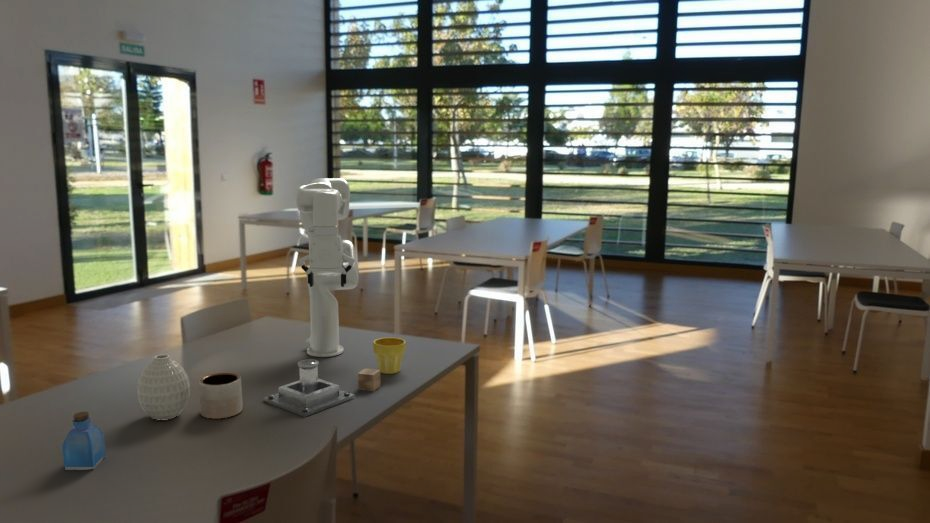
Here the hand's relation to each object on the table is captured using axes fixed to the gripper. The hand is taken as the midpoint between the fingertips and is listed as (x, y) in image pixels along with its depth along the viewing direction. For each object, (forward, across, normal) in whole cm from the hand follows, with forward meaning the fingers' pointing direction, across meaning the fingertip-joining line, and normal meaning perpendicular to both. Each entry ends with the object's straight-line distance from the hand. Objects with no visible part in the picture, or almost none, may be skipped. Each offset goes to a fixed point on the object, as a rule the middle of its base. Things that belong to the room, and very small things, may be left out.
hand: (327, 286), depth 216 cm
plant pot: (+28, +19, +2) cm, 34 cm away
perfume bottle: (+29, -46, -62) cm, 82 cm away
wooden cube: (+28, +14, -13) cm, 34 cm away
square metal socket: (+28, -2, -23) cm, 36 cm away
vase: (+28, -38, -35) cm, 59 cm away
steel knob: (+27, -2, -23) cm, 36 cm away
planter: (+29, -24, -32) cm, 49 cm away
